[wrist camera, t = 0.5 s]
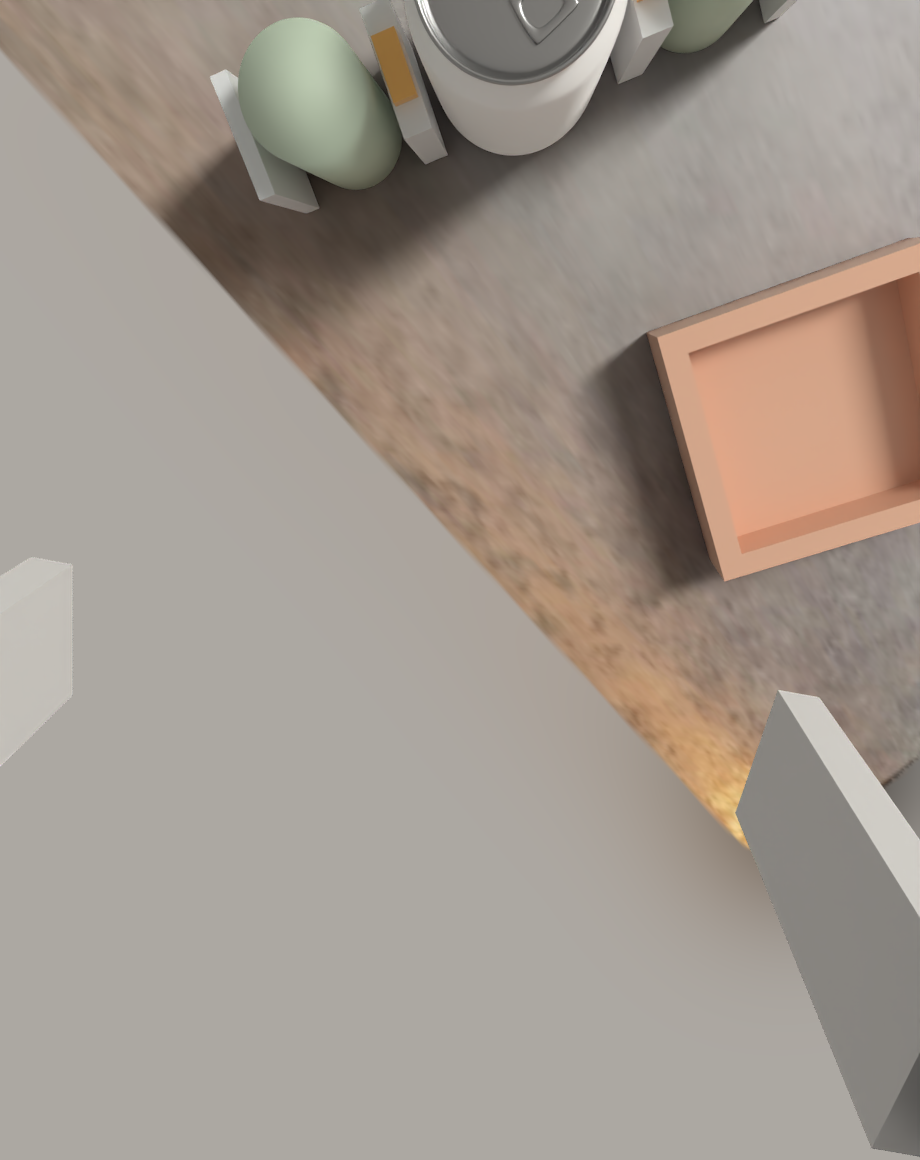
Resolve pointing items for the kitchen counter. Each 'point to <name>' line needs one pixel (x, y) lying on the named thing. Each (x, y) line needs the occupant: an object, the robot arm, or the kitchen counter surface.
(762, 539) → the tray
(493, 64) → the can
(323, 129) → the peg
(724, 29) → the green piece
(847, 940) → the robot arm
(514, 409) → the kitchen counter surface
